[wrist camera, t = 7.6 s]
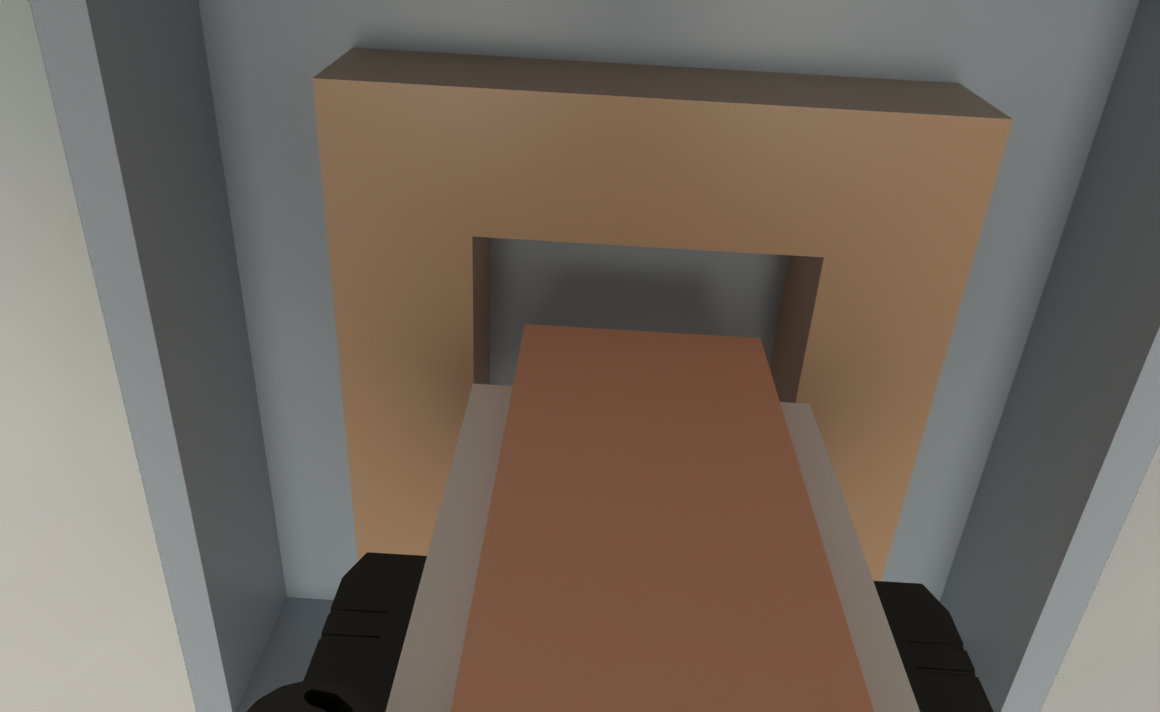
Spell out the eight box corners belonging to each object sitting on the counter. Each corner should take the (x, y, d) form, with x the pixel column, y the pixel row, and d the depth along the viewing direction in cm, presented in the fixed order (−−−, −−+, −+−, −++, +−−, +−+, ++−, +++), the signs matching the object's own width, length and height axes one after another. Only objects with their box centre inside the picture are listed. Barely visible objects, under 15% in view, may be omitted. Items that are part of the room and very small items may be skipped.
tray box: (144, -188, 15) (-17, -199, 11) (1204, -127, 15) (1407, -118, 11) (270, 595, 24) (203, 740, 20) (941, 637, 24) (1005, 790, 20)
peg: (525, 324, 15) (327, 1349, 5) (760, 338, 15) (1081, 1395, 5) (520, 510, 17) (373, 1530, 7) (729, 522, 17) (910, 1566, 7)
